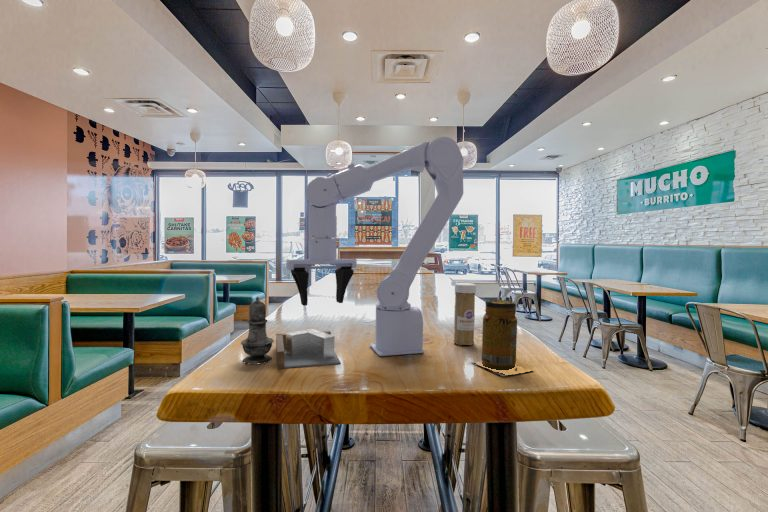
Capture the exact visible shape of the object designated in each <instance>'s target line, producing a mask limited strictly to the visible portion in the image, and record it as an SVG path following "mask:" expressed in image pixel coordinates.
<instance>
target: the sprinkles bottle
mask: <svg viewBox="0 0 768 512" xmlns="http://www.w3.org/2000/svg"><path fill="white" fill-rule="evenodd" d="M476 292H477V286H476V284H475V283H472V282H457V283H455V284H454V295H455V299H454V318H453V319H454V321H453V324H454V325H453V326H454V334H453V338H454V339H453V343H454V344H455V343H456V344H455V345H457V344H459V345H458V346H462V345H470V346H473V345H474V344H475V341H474V339H475V335H474V334H475V320H476V319H475V317H476V314H475V302H476V301H475V299H476ZM472 344H473V345H472Z"/></svg>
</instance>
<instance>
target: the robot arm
mask: <svg viewBox="0 0 768 512" xmlns="http://www.w3.org/2000/svg"><path fill="white" fill-rule="evenodd" d="M409 170H411V171H415V172H418V173H422V174H423V173H424V170H426V171H427V174H428V175H429V176H430V178H431V179H432V180H433V184H434V186H435V189H436V192H437V193H436V194H437V195H436V197H435V198H434V200H433V202H432V203H431V205H430V207H429V208H428V210H427V212H426V214H425V215H424V216H423V219H422V221H421V222H420V223H419V225H418V227H417V228H416V231H414V234H413V236H412V237H411V239H410V241H409V242H408V244H407V246H406V248H405V249H404V250H403V252H402V254H401V256H400V257H399V259H398V261H397V263H396V264H395V265H394V267H393V269H392V271H391V272H389V273H388V274H386V275H385V276H384V277H382V279H381V281H380V283H379V285H378V287H377V289H376V298H377V300H378V301H379V302H378V303H376V304H375V341H374V342H371V343H369V346H370V347H371V349H372V350H373V351H374V352H375V353H376V354H377V355H378V356H380V357H386V356H398V355H399V356H401V355H411V354H412V355H413V354H423V353H424V352H425V351H424V349H423V347H424V346H423V344H424V343H423V341H424V340H423V339H424V319H423V318H424V317H423V313H422V311H421V309H420V308H419V307H418V306H411V303H409V302H408V301H409V297H410V288H411V285H412V284H413V282H414V280H415V278H416V276H417V274H418V272H419V270H420V269H421V266H422V265H423V263H424V262H425V260H426V258H427V257H428V254H429V253H430V251H431V250H432V248H433V246H434V244H435V243H436V241H437V240H438V238H439V237H440V234H441V233H442V231H443V230H444V228H445V226H446V225H447V223H448V221H449V219H451V216H452V215H453V213H454V212H455V210H456V208H457V206H458V204H459V203H460V201H461V200H462V198H463V195H464V156H463V154H462V152H461V149H460V146H459V145H458V143H457V142H456V141H455V140H454V139H452V138H451V137H449V136H447V137H446V136H441V137H440V136H439V137H437V138H435V139H433V140H432V141H431V142H430V141H429V140H428V141H424V142H421V143H419V144H416V145H414V146H411V147H410V148H407V149H405V150H403V151H401V152H399V153H397V154H394V155H391V156H390V157H388V158H385V159H383V160H381V161H379V162H377V163H375V164H374V163H373V164H372V165H370V166H365V165H363V164H360V163H359V164H356V165H355V164H354V163H353V162H352V163H350V164H348V165H347V169H344V170H342V171H339V172H336V173H334V174H332V173H327V174H326V177H324V176H317V177H315V178H314V179H312V180H311V181H310V182H309V183H308V185H306V188H305V196H306V198H307V200H308V202H309V204H308V206H309V209H308V258H307V259H304V258H302V259H299V258H298V259H286V260H285V263H286V265H285V266H286V270H288V271H290V274H291V276H292V278H293V280H294V283H295V285H296V287H297V290H298V293H299V297H300V304H301V305H302V306H305V307H306V306H308V283H309V276H310V275H309V274H310V273H309V272H307V270H322V269H323V270H324V269H325V270H327V269H329V270H330V269H331V270H332V269H335V270H334V274H335V282H336V289H335V291H336V292H335V295H336V296H335V299H336V300H335V301H336V303H339V304H343V303H344V297H345V294H346V291H347V288H348V286H349V283H350V281H351V278H352V277H353V276H354V269H357V267H358V266H357V262H358V261H357V259H356V258H337V240H338V239H337V237H338V236H337V232H338V231H337V230H338V229H337V225H338V223H337V217H338V216H337V205H338V203H339V202H344V201H346V200H347V201H348V200H349V199H353V198H355V197H356V196H360V195H362V194H364V193H367V192H370V190H371V189H372V188H373V185H374V183H375V182H378V181H382V180H384V179H387V178H389V177H391V176H395V175H398V174H400V173H404V172H406V171H409ZM316 265H317V266H316ZM319 265H320V266H319ZM321 265H323V266H321Z"/></svg>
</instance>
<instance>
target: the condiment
mask: <svg viewBox="0 0 768 512" xmlns="http://www.w3.org/2000/svg"><path fill="white" fill-rule="evenodd" d="M516 308H517V305H516V303H515V302H514V301H511V300H504V299H489V300H487V301H485V309H484V311H485V314H484V315H483V317H482V334H481V335H482V339H481V341H482V343H481V361H482V364H483V366H485V367H488V368H491V369H496V370H509V369H512V368H514V367H515V364H517V338H518V336H517V335H518V334H517V333H518V319H517V317H516ZM478 361H479V360H476V361H470V363H471V364H474V363H476V362H478ZM474 365H475V366H477V365H476V364H474ZM489 371H490V372H492V370H489ZM492 373H493V374H495V375H500V376H501V377H509V376H508V375H505V374H503V373H499V372H492Z"/></svg>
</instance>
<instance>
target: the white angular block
mask: <svg viewBox="0 0 768 512" xmlns="http://www.w3.org/2000/svg"><path fill="white" fill-rule="evenodd" d="M321 331H322V330H321ZM321 331H320V330H317V329H315V328H307V329H301V330H295V331H290V332H285V333H286V353H287V354H289V355H291V356H294V355H299V354H303V353H311V354H313V355H315V356H317V357H320V358H322V359H327V358H331V357H334V351H335V338H336V337H335V336H334V335H332V334H331V335H330V334H327V333H324V332H321Z"/></svg>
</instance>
